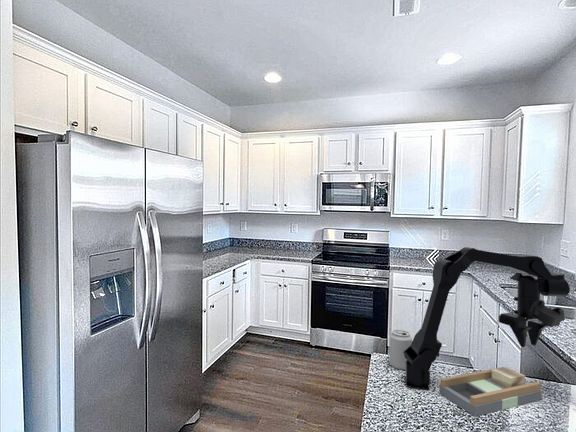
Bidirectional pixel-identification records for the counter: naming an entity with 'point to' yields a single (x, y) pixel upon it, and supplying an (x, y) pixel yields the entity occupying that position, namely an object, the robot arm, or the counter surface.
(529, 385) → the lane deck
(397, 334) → the can
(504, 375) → the maple block
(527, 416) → the counter surface
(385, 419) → the counter surface
